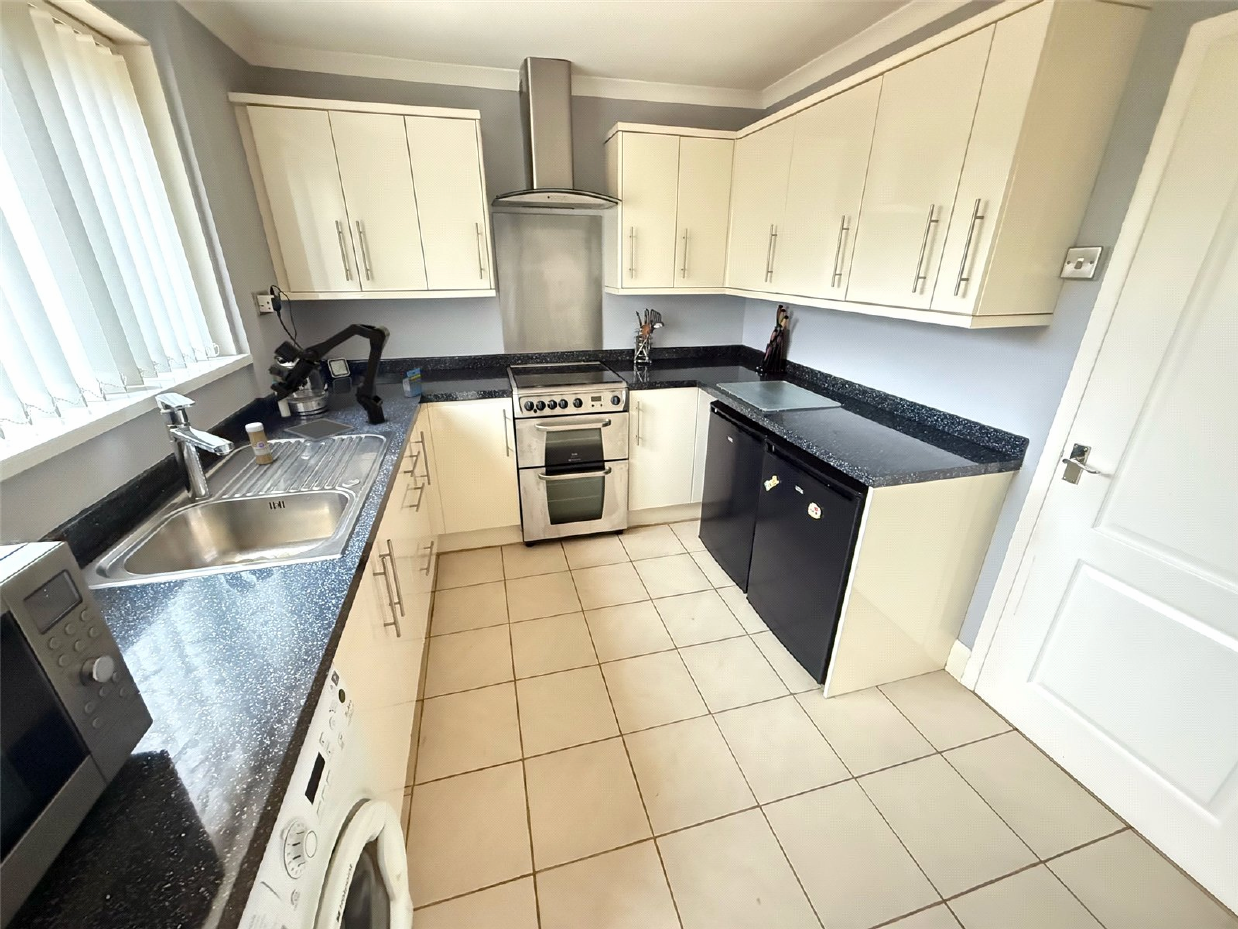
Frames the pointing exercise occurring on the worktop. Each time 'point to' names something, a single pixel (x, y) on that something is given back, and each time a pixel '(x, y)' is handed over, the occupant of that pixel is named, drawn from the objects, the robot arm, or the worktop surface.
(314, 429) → the tablet
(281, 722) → the worktop surface
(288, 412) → the marker
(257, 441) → the sprinkles bottle
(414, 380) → the label tape box
